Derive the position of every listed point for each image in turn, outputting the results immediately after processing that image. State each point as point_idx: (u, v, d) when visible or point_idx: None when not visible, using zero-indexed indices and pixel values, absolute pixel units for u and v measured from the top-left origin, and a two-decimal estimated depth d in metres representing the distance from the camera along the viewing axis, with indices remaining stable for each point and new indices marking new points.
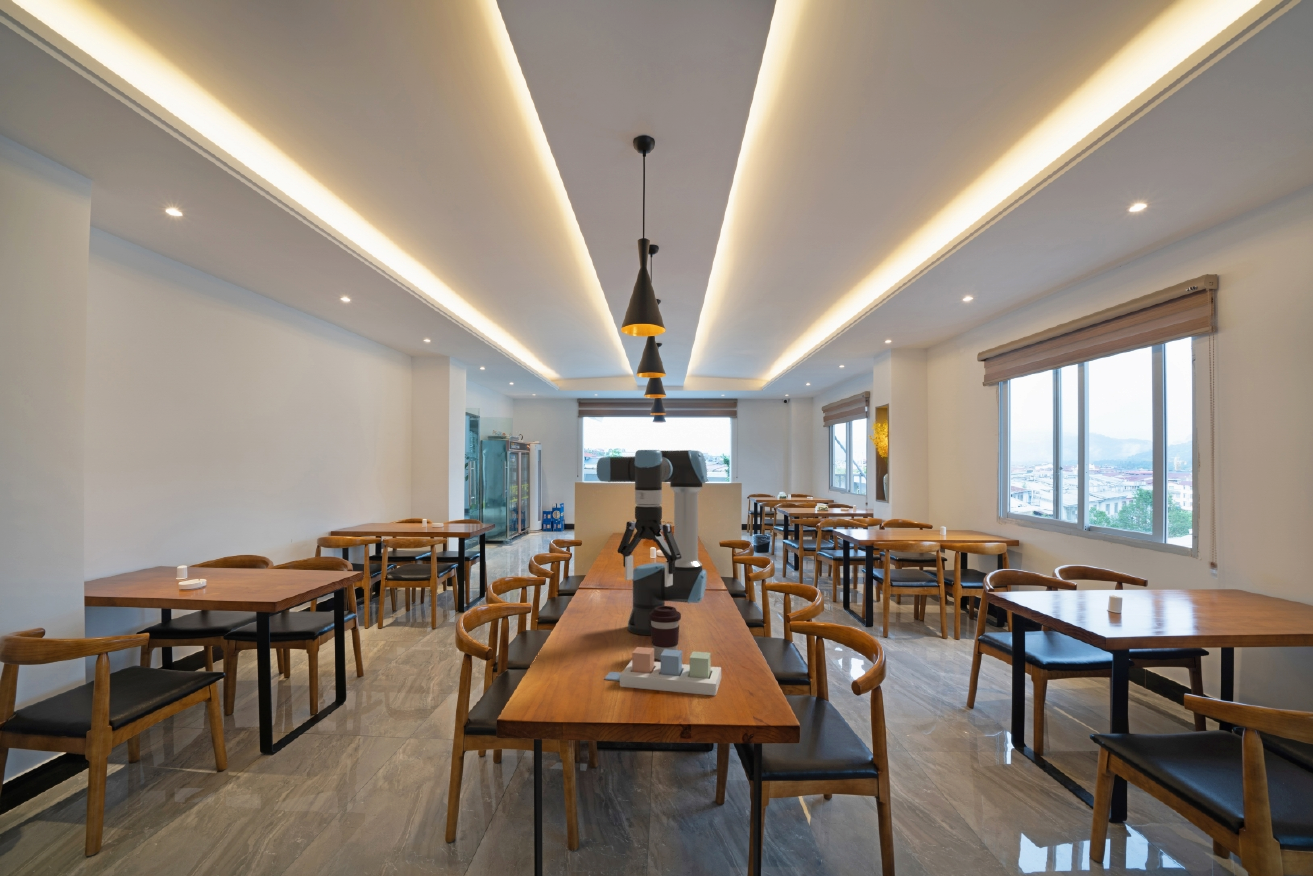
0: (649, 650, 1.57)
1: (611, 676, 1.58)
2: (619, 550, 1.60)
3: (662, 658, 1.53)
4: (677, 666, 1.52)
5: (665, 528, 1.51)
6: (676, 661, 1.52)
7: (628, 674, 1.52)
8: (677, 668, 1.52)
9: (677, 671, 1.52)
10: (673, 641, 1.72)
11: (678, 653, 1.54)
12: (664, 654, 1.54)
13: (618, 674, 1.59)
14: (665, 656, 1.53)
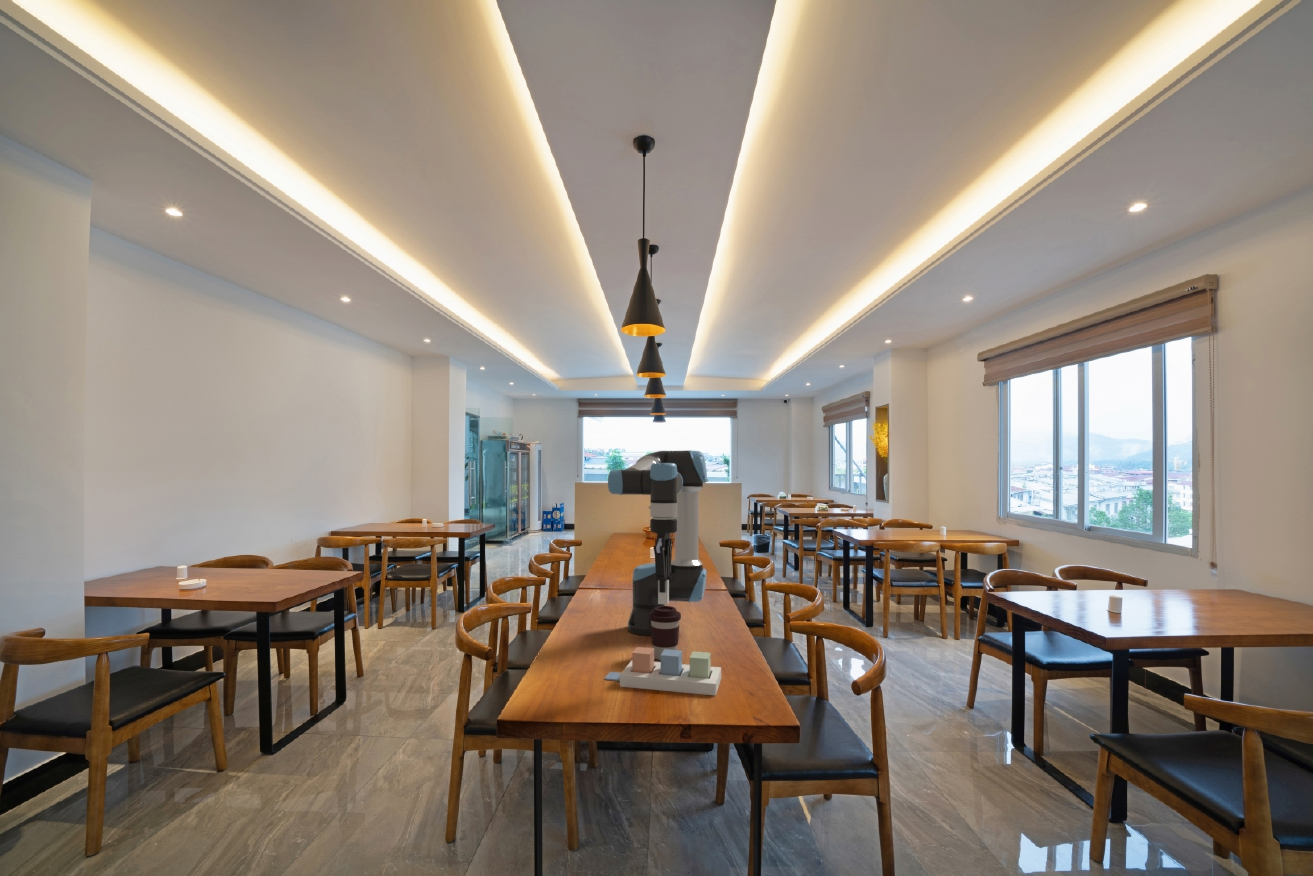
0: (649, 650, 1.57)
1: (611, 676, 1.58)
2: None
3: (662, 658, 1.53)
4: (677, 666, 1.52)
5: (654, 549, 1.52)
6: (676, 661, 1.52)
7: (628, 674, 1.52)
8: (677, 668, 1.52)
9: (677, 671, 1.52)
10: (673, 641, 1.72)
11: (678, 653, 1.54)
12: (664, 654, 1.54)
13: (618, 674, 1.59)
14: (665, 656, 1.53)
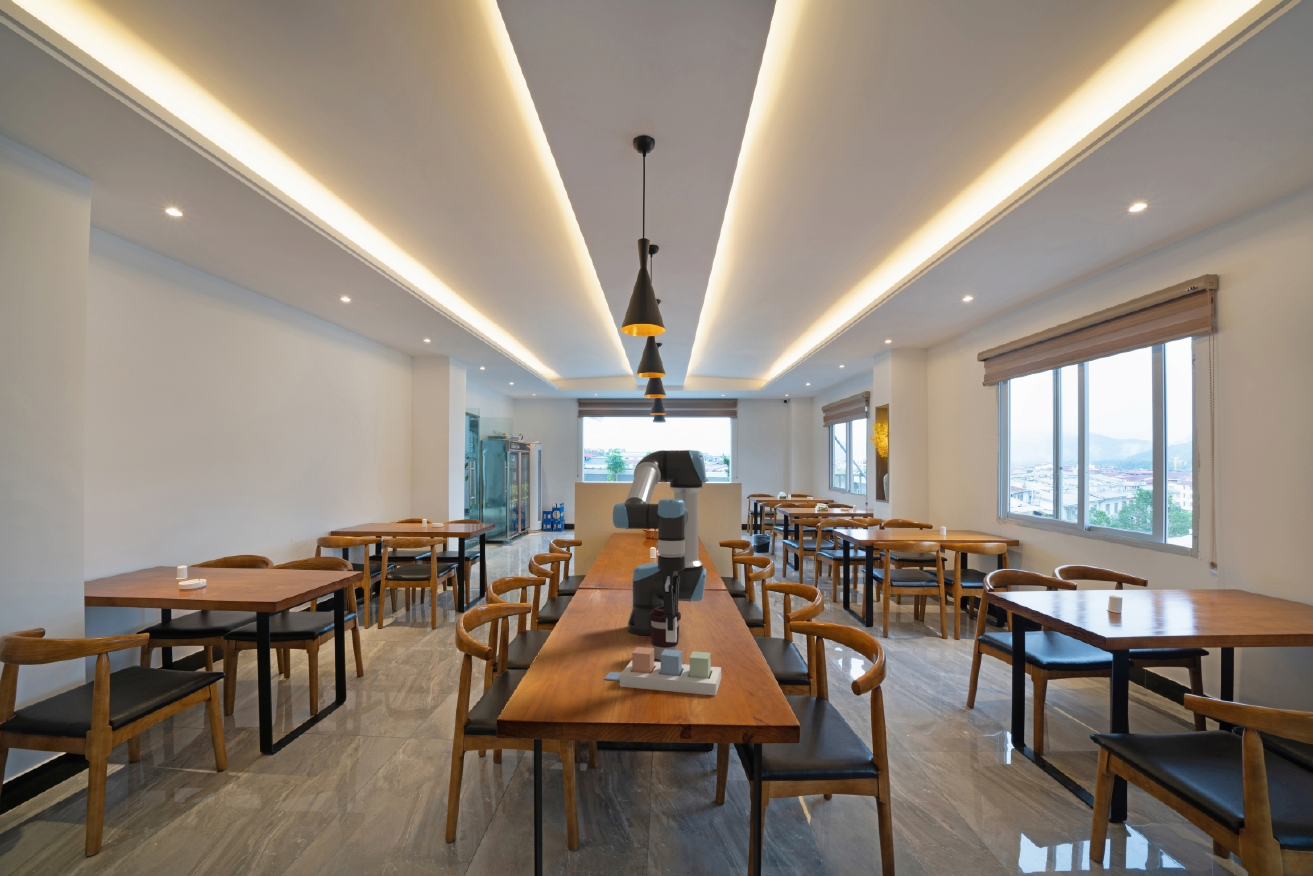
0: (649, 650, 1.57)
1: (611, 676, 1.58)
2: None
3: (662, 658, 1.53)
4: (677, 666, 1.52)
5: None
6: (676, 661, 1.52)
7: (628, 674, 1.52)
8: (677, 668, 1.52)
9: (677, 671, 1.52)
10: None
11: (678, 653, 1.54)
12: (664, 654, 1.54)
13: (618, 674, 1.59)
14: (665, 656, 1.53)
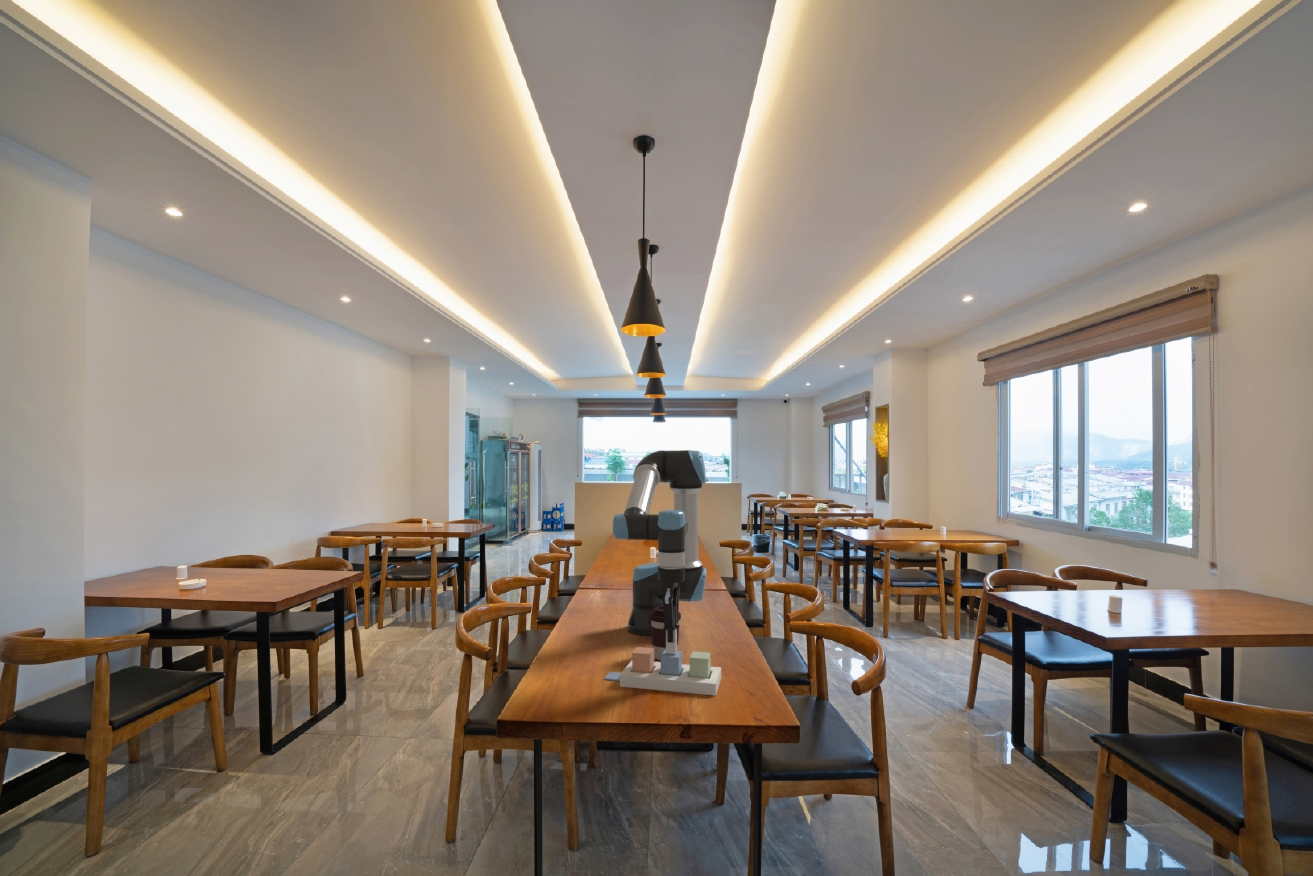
0: (649, 650, 1.57)
1: (611, 676, 1.58)
2: None
3: (662, 659, 1.53)
4: (677, 667, 1.52)
5: (662, 600, 1.50)
6: (676, 662, 1.52)
7: (628, 674, 1.52)
8: (677, 669, 1.52)
9: (677, 672, 1.52)
10: None
11: (678, 654, 1.54)
12: (664, 655, 1.54)
13: (618, 674, 1.59)
14: (665, 657, 1.53)
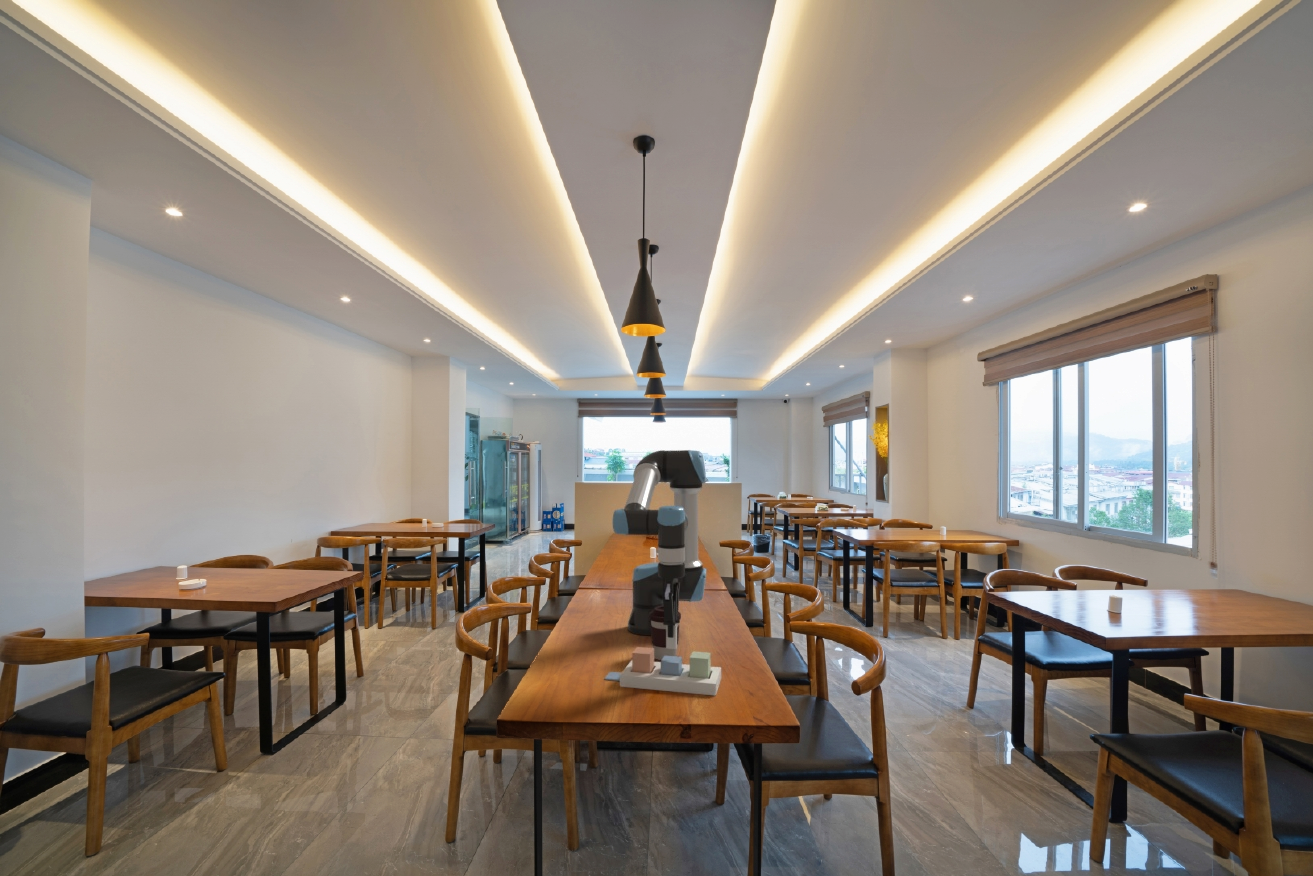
0: (649, 650, 1.57)
1: (611, 676, 1.58)
2: None
3: (662, 665, 1.53)
4: (677, 673, 1.52)
5: None
6: (676, 668, 1.52)
7: (628, 674, 1.52)
8: (677, 675, 1.52)
9: None
10: None
11: (678, 660, 1.54)
12: (664, 661, 1.54)
13: (618, 674, 1.59)
14: (665, 663, 1.53)
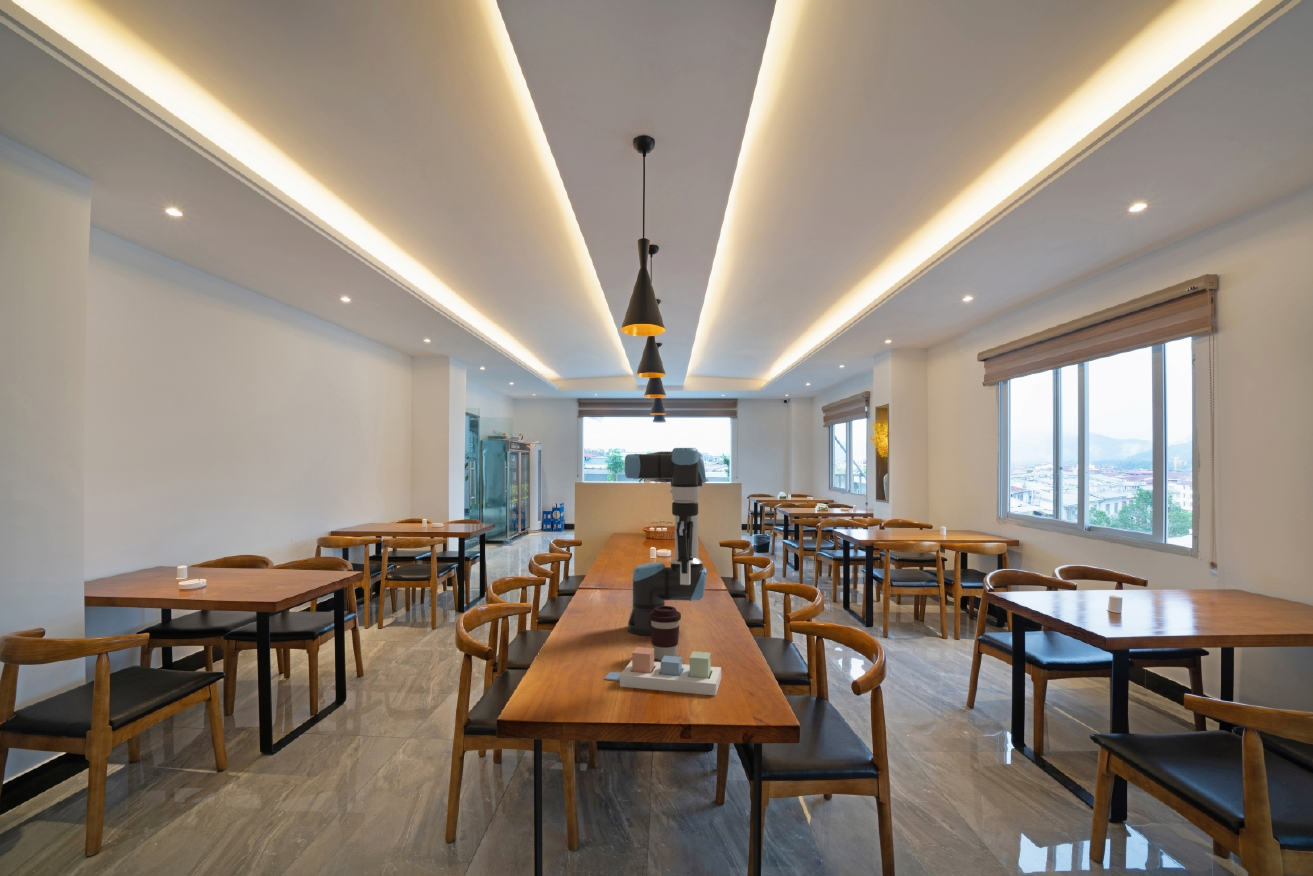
0: (649, 650, 1.57)
1: (611, 676, 1.58)
2: None
3: (662, 665, 1.53)
4: (677, 673, 1.52)
5: (676, 532, 1.56)
6: (676, 668, 1.52)
7: (628, 674, 1.52)
8: (677, 675, 1.52)
9: None
10: (673, 641, 1.72)
11: (678, 660, 1.54)
12: (664, 661, 1.54)
13: (618, 674, 1.59)
14: (665, 663, 1.53)
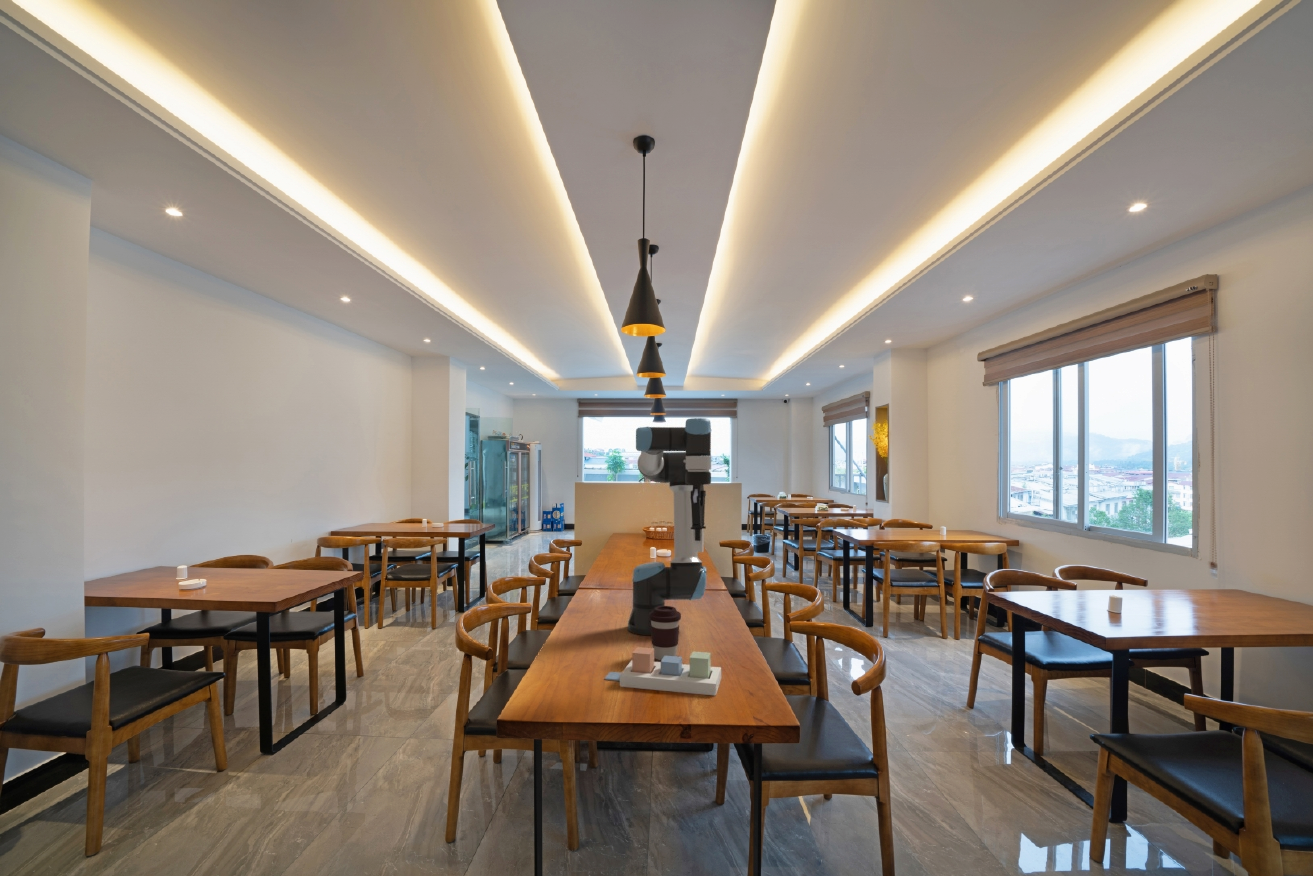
0: (649, 650, 1.57)
1: (611, 676, 1.58)
2: None
3: (662, 665, 1.53)
4: (677, 673, 1.52)
5: (690, 499, 1.60)
6: (676, 668, 1.52)
7: (628, 674, 1.52)
8: (677, 675, 1.52)
9: None
10: (673, 641, 1.72)
11: (678, 660, 1.54)
12: (664, 661, 1.54)
13: (618, 674, 1.59)
14: (665, 663, 1.53)
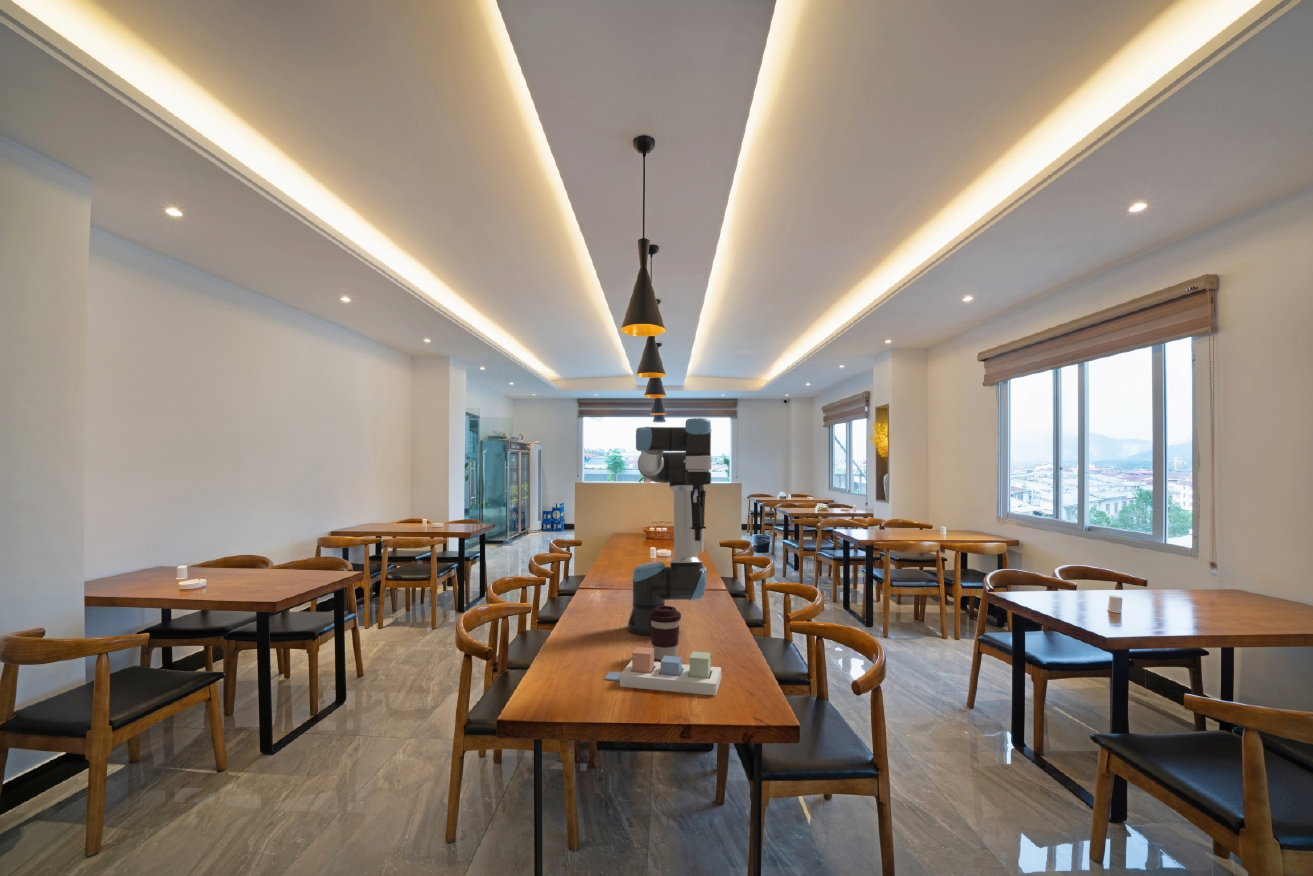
0: (649, 650, 1.57)
1: (611, 676, 1.58)
2: None
3: (662, 665, 1.53)
4: (677, 673, 1.52)
5: (690, 499, 1.60)
6: (676, 668, 1.52)
7: (628, 674, 1.52)
8: (677, 675, 1.52)
9: None
10: (673, 641, 1.72)
11: (678, 660, 1.54)
12: (664, 661, 1.54)
13: (618, 674, 1.59)
14: (665, 663, 1.53)
